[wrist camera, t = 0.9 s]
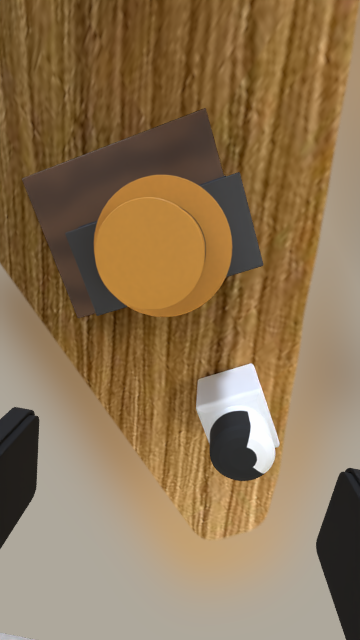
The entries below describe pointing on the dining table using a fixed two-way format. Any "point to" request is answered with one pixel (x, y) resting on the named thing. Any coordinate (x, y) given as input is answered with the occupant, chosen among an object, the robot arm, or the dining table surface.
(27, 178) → the brown flat slab
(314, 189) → the dining table surface
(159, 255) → the hat
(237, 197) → the dark grey block
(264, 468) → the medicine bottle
